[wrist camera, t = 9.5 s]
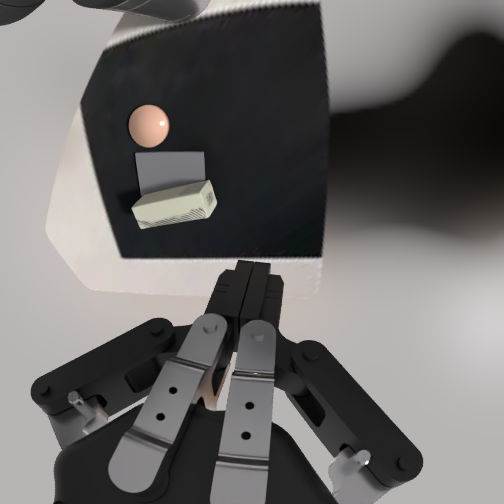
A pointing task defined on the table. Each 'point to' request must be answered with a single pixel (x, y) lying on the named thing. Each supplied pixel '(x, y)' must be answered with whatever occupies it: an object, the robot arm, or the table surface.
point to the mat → (169, 169)
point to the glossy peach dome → (149, 125)
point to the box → (175, 205)
